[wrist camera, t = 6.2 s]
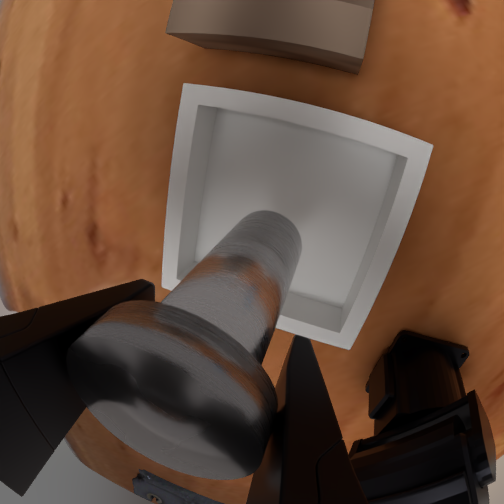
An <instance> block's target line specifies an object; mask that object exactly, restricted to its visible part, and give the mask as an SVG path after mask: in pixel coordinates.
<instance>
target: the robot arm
mask: <svg viewBox="0 0 504 504" xmlns="http://www.w3.org/2000/svg"><path fill="white" fill-rule="evenodd" d="M135 300H145V301H155V286H154V284H153V283H151V282H149V281H146V280H144V279H139V280H136V281H132V282H128V283H125V284H121V285H117V286H114V287H110V288H107V289H103V290H99V291H96V292H92V293H88V294H85V295H81V296H77V297H74V298H70V299H67V300H63V301H59V302H56V303H52V304H48V305H45V306H41V307H39V308H34V309H30V310H27V311H23V312H19V313H15V314H11V315H6V316H1V317H0V481H1V482H3V483H4V484H5V485H6V486H8V487H9V488H10V489H12V490H13V491H14V492H16V493H17V494H19V495H20V496H21V497H22V496H23V495H24V494H25V493H26V491H27V490H28V488H29V486H30V485H31V484H32V482H33V481H34V479H35V478H36V476H37V475H38V473H39V472H40V471H41V469H42V468H43V466H44V465H45V464H46V462H47V461H48V459H49V458H50V457H51V455H52V454H53V452H54V450H55V449H56V448H57V446H58V445H59V444H60V442H61V441H62V440H63V438H64V437H65V435H66V434H67V433H68V431H69V430H70V429H71V427H72V426H73V424H74V423H75V422H76V420H77V419H78V418H79V416H80V415H81V414H82V412H83V411H84V410H85V408H86V405H85V404H84V403H83V401H82V400H81V398H80V397H79V395H78V394H77V392H76V390H75V388H74V386H73V384H72V382H71V380H70V377H69V374H68V371H67V365H66V355H67V352H68V349H69V347H70V346H71V345H72V343H74V342H75V341H76V340H77V339H78V338H79V337H80V336H81V335H82V334H83V333H84V332H85V331H86V330H87V329H88V328H90V327H91V326H92V325H93V324H94V323H95V322H96V321H97V320H98V319H99V318H100V317H101V316H103V315H104V314H105V313H106V312H107V311H108V310H109V309H111V308H112V307H113V306H115V305H118V304H120V303H123V302H127V301H135ZM403 337H407V338H406V339H402V338H403ZM463 353H464V354H463ZM468 356H469V350H468V348H467V347H464V346H460V345H456V344H452V343H449V342H445V341H441V340H438V339H434V338H430V337H427V336H423V335H420V334H416V333H413V332H409V331H402V332H400V333H399V334H398V335H397V337H396V339H395V340H394V342H393V344H392V345H391V347H390V349H389V350H388V352H387V353H385V354H384V355H383V356H382V357H381V359H380V360H379V362H378V363H377V365H376V367H375V368H374V370H373V371H372V373H371V374H370V376H369V381H368V383H367V384H366V392H367V393H369V413H368V415H369V417H370V418H371V419H374V436H372V437H369V438H366V439H360V440H356V441H354V443H353V445H352V448H351V450H350V452H349V455H348V452H347V449H346V446H345V443H344V440H341V439H342V438H343V437H342V434H341V430H340V427H339V424H338V421H337V418H336V415H335V412H334V409H333V406H332V403H331V400H330V397H329V394H328V391H327V388H326V385H325V382H324V379H323V376H322V373H321V370H320V367H319V364H318V361H317V359H316V356H315V353H314V350H313V347H312V344H311V341H310V339H309V338H307V337H303V336H300V335H295V336H294V337H293V340H292V343H291V345H290V348H289V350H288V353H287V355H286V358H285V361H284V364H283V367H282V370H281V373H280V376H279V379H278V381H277V384H276V387H275V391H276V394H277V399H278V412H277V416H276V420H275V423H274V426H273V429H272V432H271V436H270V439H269V442H268V445H267V448H266V451H265V454H264V457H263V460H262V463H261V465H260V467H259V468H258V469H257V470H256V471H255V472H254V474H253V478H252V482H251V486H250V490H249V494H248V498H247V502H246V504H489V494H488V486H487V485H488V484H490V483H493V482H494V481H495V480H496V451H495V443H494V439H493V435H492V431H491V427H490V423H489V420H488V417H487V415H486V413H485V411H484V408H483V406H482V404H481V402H480V400H479V397H478V395H477V393H476V391H475V389H474V390H473V391H471V392H469V393H467V395H466V393H465V389H464V385H463V381H462V378H461V374H460V370H459V368H460V367H461V366H462V364H463V363H464V362H465V360H466V359H467V358H468Z"/></svg>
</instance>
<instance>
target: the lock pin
mask: <svg viewBox="0 0 504 504" xmlns="http://www.w3.org/2000/svg"><path fill="white" fill-rule="evenodd" d="M301 252H302V240H301V236H300V234H299V232H298V230H297V228H296V227H295V225H294V224H293V223H292V222H291V221H290V220H289V219H288V218H286V217H285V216H283V215H281V214H279V213H277V212H274V211H268V210H260V211H255V212H252V213H250V214H248V215H246V216H245V217H244V218H242V219H241V220H240V221H239V222H238V223H237V224H236V225H235V226H234V227H233V228H232V229H231V230H230V231H229V232H228V233H227V234H226V235H225V236H224V237H223V238H222V239H221V240H220V242H219V243H218V244H217V245H216V246H215V247H214V248H213V249H212V250H211V251H210V252H209V253H208V254H207V255H206V256H205V257H204V258H203V259H202V260H201V261H200V262H199V263H198V264H197V265H196V266H195V267H194V268H193V269H192V270H191V271H190V272H189V273H188V274H187V275H186V276H185V277H184V279H183V280H182V281H181V282H180V283H179V284H178V285H177V286H176V287H175V288H174V289H173V290H172V291H171V292H170V293H169V294H168V295H167V296H166V297H165V298H164V300H163V301H162V302H161V303H159V302H155V301H145V300H135V301H127V302H123V303H120V304H118V305H115V306H113V307H112V308H111V309H109V310H108V311H107V312H106V313H105V314H104V315H103V316H101V317H100V318H99V319H98V320H97V321H96V322H95V323H94V324H93V325H92V326H91V327H90V328H88V329H87V330H86V331H85V332H84V333H83V334H82V335H81V336H80V337H79V338H78V339H77V340H76V341H75V342H74V343H72V345H71V346H70V347H69V349H68V352H67V355H66V365H67V371H68V374H69V377H70V380H71V382H72V384H73V386H74V388H75V390H76V392H77V394H78V395H79V397H80V398H81V400H82V401H83V403H84V404H85V405H86V407H87V408H88V409H89V410H90V412H91V413H92V414H93V415H94V416H95V417H96V418H97V419H98V420H99V421H100V422H101V423H102V424H103V425H104V426H105V427H106V428H107V429H108V430H109V431H110V432H111V433H113V434H114V435H115V436H116V437H117V438H119V439H120V440H121V441H123V442H124V443H125V444H127V445H128V446H130V447H131V448H133V449H134V450H136V451H137V452H139V453H141V454H142V455H144V456H146V457H148V458H150V459H151V460H153V461H155V462H157V463H159V464H162V465H164V466H166V467H169V468H171V469H174V470H176V471H179V472H182V473H186V474H189V475H193V476H197V477H202V478H208V479H217V480H230V479H238V478H243V477H246V476H248V475H251V474H252V473H254V472H255V471H256V470H257V469H258V468H259V467H260V465H261V463H262V460H263V457H264V454H265V451H266V448H267V445H268V442H269V439H270V436H271V432H272V429H273V426H274V423H275V420H276V416H277V412H278V399H277V394H276V391H275V388H274V386H273V384H272V382H271V380H270V378H269V376H268V374H267V373H266V372H265V370H264V369H263V367H262V366H261V365H262V362H263V359H264V357H265V354H266V351H267V349H268V346H269V343H270V341H271V338H272V335H273V333H274V330H275V327H276V325H277V322H278V319H279V316H280V314H281V311H282V308H283V305H284V302H285V300H286V297H287V294H288V291H289V288H290V285H291V283H292V280H293V277H294V274H295V271H296V268H297V265H298V262H299V259H300V256H301Z"/></svg>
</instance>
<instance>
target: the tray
mask: <svg viewBox="0 0 504 504" xmlns="http://www.w3.org/2000/svg"><path fill="white" fill-rule="evenodd" d="M432 149H433V145H432V144H429V143H427V142H425V141H422V140H420V139H417V138H415V137H412V136H409V135H407V134H404V133H401V132H399V131H396V130H393V129H390V128H387V127H385V126H382V125H379V124H376V123H373V122H370V121H367V120H363V119H360V118H357V117H354V116H350V115H347V114H344V113H340V112H336V111H333V110H329V109H325V108H322V107H318V106H314V105H310V104H306V103H302V102H297V101H293V100H288V99H284V98H279V97H274V96H269V95H264V94H259V93H253V92H247V91H241V90H235V89H228V88H221V87H214V86H206V85H197V84H187V83H184V84H183V90H182V95H181V101H180V107H179V113H178V120H177V126H176V133H175V140H174V147H173V155H172V163H171V171H170V180H169V189H168V199H167V210H166V221H165V234H164V249H163V266H162V287H163V288H166V289H168V290H171V291H172V290H173V289H174V288H175V287H176V286H177V285H178V284H179V283H180V282H181V281H182V280H183V279H184V277H185V276H186V275H187V274H188V273H189V272H190V271H191V270H192V269H193V268H194V267H195V266H196V265H197V264H198V263H199V262H200V261H201V260H202V259H203V258H204V257H205V256H206V255H207V254H208V253H209V252H210V251H211V250H212V249H213V248H214V247H215V246H216V245H217V244H218V243H219V242H220V240H221V239H222V238H223V237H224V236H225V235H226V234H227V233H228V232H229V231H230V230H231V229H232V228H233V227H234V226H235V225H236V224H237V223H238V222H239V221H240V220H241V219H242V218H244V217H245V216H246V215H248V214H250V213H252V212H255V211H260V210H268V211H274V212H277V213H279V214H281V215H283V216H285V217H286V218H288V219H289V220H290V221H291V222H292V223H293V224H294V225H295V227H296V228H297V230H298V232H299V234H300V236H301V240H302V252H301V256H300V259H299V262H298V265H297V268H296V271H295V274H294V277H293V280H292V283H291V285H290V288H289V291H288V294H287V297H286V300H285V302H284V305H283V308H282V311H281V314H280V316H279V319H278V322H277V325H276V327H275V328H278V329H281V330H284V331H287V332H290V333H294V334H297V335H300V336H303V337H307V338H310V339H313V340H316V341H320V342H323V343H326V344H330V345H333V346H337V347H340V348H344V349H347V350H350V349H351V347H352V345H353V343H354V341H355V339H356V337H357V336H358V334H359V332H360V330H361V328H362V326H363V324H364V322H365V320H366V318H367V316H368V314H369V312H370V310H371V308H372V306H373V304H374V302H375V299H376V297H377V295H378V293H379V291H380V289H381V287H382V284H383V282H384V280H385V278H386V275H387V273H388V271H389V269H390V266H391V264H392V262H393V259H394V257H395V254H396V252H397V250H398V247H399V245H400V242H401V240H402V237H403V235H404V232H405V229H406V227H407V224H408V222H409V219H410V216H411V213H412V211H413V208H414V205H415V202H416V199H417V196H418V194H419V191H420V188H421V185H422V182H423V178H424V175H425V172H426V169H427V166H428V162H429V159H430V156H431V152H432Z"/></svg>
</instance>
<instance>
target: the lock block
mask: <svg viewBox="0 0 504 504" xmlns="http://www.w3.org/2000/svg"><path fill="white" fill-rule="evenodd" d="M373 6H374V0H173V4H172V7H171V11H170V15H169V20H168V24H167V28H166V32H165V33H167V34H169V35H172V36H175V37H178V38H180V39H183V40H185V41H188V42H191V43H193V44H196V45H198V46H201V47H203V48H210V49H223V50H233V51H242V52H250V53H258V54H265V55H271V56H277V57H283V58H289V59H294V60H299V61H304V62H309V63H313V64H318V65H322V66H326V67H331V68H334V69H338V70H342V71H346V72H350V73H353V74H357V75H358V73H359V70H360V67H361V64H362V61H363V58H364V53H365V48H366V43H367V38H368V33H369V28H370V23H371V17H372V12H373Z"/></svg>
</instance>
